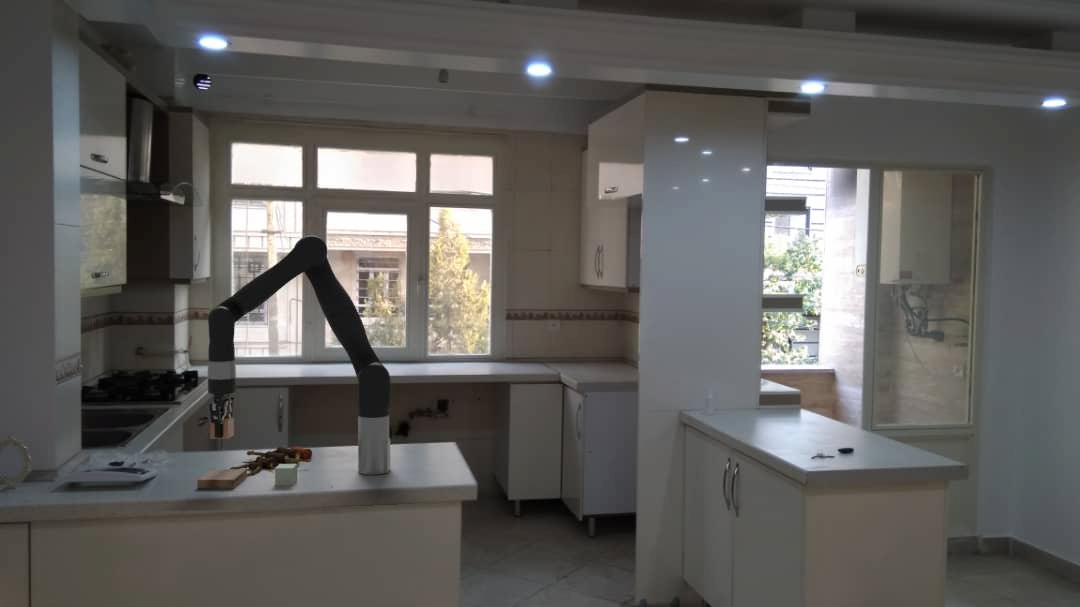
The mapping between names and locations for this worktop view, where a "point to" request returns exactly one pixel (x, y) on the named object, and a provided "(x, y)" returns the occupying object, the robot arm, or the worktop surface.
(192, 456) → the worktop surface
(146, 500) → the worktop surface
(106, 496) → the worktop surface
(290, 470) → the sage block
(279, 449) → the toy
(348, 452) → the worktop surface
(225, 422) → the terracotta block
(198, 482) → the base board
